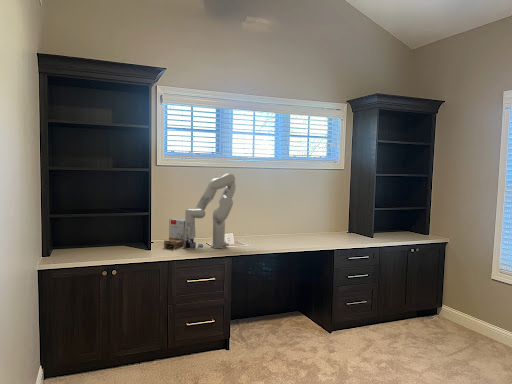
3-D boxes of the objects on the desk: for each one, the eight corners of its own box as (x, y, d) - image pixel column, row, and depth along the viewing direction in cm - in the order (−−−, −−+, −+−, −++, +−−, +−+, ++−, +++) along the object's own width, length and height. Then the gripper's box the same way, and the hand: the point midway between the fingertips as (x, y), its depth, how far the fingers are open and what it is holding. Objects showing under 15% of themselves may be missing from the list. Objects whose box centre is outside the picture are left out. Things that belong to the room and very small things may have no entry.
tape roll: (203, 246, 308) (203, 244, 307) (201, 247, 304) (201, 244, 304) (199, 246, 309) (199, 243, 308) (197, 247, 305) (197, 244, 305)
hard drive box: (168, 242, 319) (168, 218, 318) (174, 241, 326) (174, 217, 325) (183, 245, 312) (183, 220, 311) (189, 243, 319) (189, 219, 318)
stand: (183, 246, 306) (183, 238, 306) (175, 249, 295) (175, 241, 294) (172, 245, 309) (172, 237, 309) (164, 248, 298) (164, 240, 297)
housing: (195, 248, 303) (195, 240, 303) (192, 249, 298) (192, 242, 297) (186, 247, 305) (186, 240, 305) (183, 248, 300) (183, 241, 300)
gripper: (189, 226, 291) (188, 249, 292) (199, 223, 307) (198, 245, 309) (180, 225, 293) (179, 248, 295) (190, 222, 310) (190, 244, 311)
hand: (189, 246), depth 302 cm, fingers closed on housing, 5 cm apart
